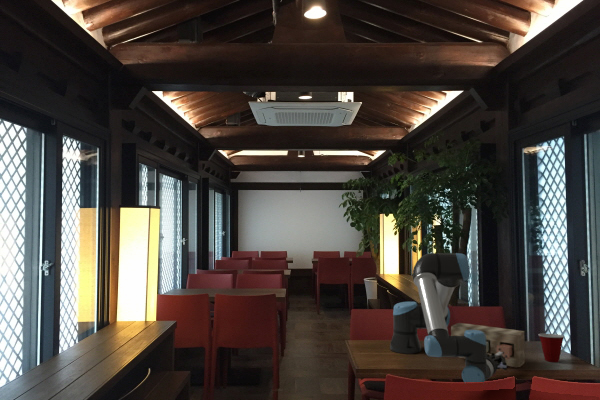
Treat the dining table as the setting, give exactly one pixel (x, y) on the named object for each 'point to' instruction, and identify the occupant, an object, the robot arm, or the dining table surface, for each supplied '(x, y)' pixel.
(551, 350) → the plastic cup
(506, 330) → the console
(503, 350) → the button
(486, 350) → the button
